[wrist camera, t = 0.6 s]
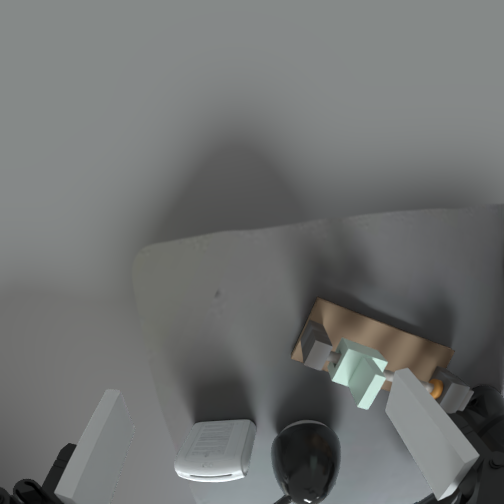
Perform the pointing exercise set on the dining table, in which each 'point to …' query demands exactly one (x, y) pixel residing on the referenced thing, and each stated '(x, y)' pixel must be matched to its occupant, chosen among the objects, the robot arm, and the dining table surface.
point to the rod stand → (381, 351)
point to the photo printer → (216, 451)
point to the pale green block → (359, 371)
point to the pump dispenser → (306, 462)
